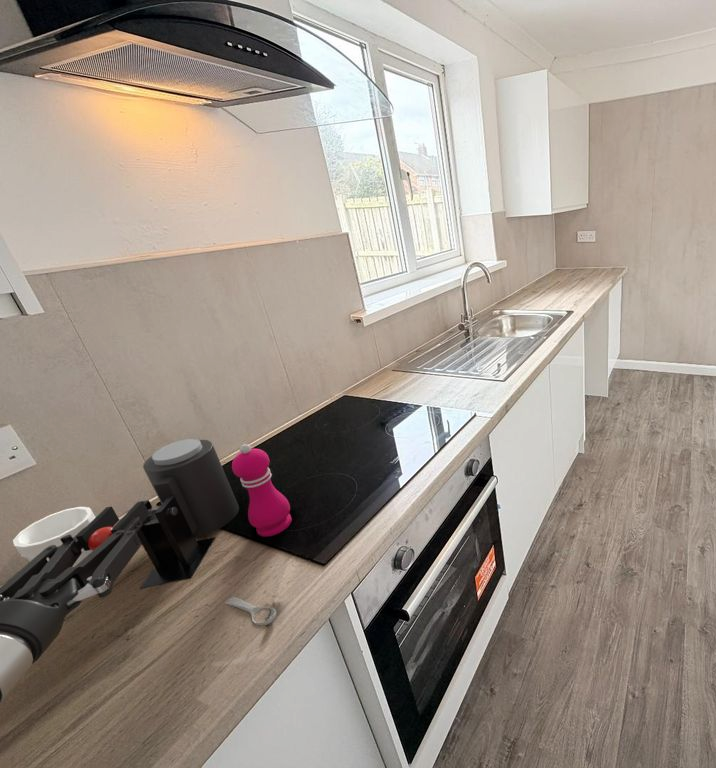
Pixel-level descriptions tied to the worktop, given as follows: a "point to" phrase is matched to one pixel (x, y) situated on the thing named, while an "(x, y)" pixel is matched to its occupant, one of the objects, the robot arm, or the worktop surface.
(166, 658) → the worktop surface
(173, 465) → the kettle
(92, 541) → the red knob lever
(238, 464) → the pepper mill
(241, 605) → the bottle opener
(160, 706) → the worktop surface
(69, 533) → the foam cup
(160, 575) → the bracket
